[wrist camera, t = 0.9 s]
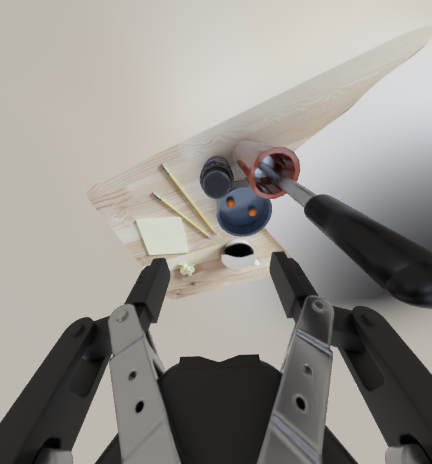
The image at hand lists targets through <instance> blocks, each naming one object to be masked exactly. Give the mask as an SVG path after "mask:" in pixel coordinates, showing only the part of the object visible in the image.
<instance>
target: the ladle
mask: <svg viewBox="0 0 432 464" xmlns="http://www.w3.org/2000/svg"><path fill="white" fill-rule="evenodd" d="M254 177H256V178H260V179H261V178H265V177H268V178H270V179H271V180H272V181H273V182H274V183H276V184H277V185H278V186H279V187H280V188H281V189H283V190H284V191H285V192H286V193H287V194H288V195H290V196H291V197H292V198H293V199H294V200H296V201H297V202H298V203H299V204H300V205H302V206H303V207H304V212H305V215H306V217H307V218H308V219H309V220H310V221H311V222H312V223H313V224H314V225H316V226H317V227H318V228H319V229H320V230H321V231H322V232H323V233H324V234H325V235H326V236H327V237H328V238H329V239H331V240H332V241H333V242H334V243H335V244H336V245H337V246H338V247H339V248H340V249H341V250H342V251H344V253H346V254H347V255H348V256H349V257H350V258H351V259H352V260H353V261H354V262H355V263H356V264H357V265H359V266H360V267H361V268H362V269H363V270H364V271H365V272H366V273H367V274H368V275H369V276H370V277H371V278H373V280H375V281H376V282H377V283H378V284H379V285H380V286H381V287H382V288H383V289H384V290H385V291H386V292H388V293H389V294H390V295H391V296H393V297H394V298H396V299H398V300H399V301H402V302H404V303H407V304H409V305H412V306H416V307H421V308H429V309H432V252H431V251H429V250H427V249H426V248H424V247H422V246H420V245H418V244H416V243H415V242H413V241H411V240H409V239H407V238H406V237H404V236H402V235H400V234H398V233H397V232H395V231H393V230H391V229H389V228H387V227H386V226H384V225H382V224H380V223H378V222H377V221H375V220H373V219H371V218H369V217H368V216H366V215H364V214H362V213H360V212H358V211H357V210H355V209H353V208H351V207H349V206H348V205H346V204H344V203H342V202H340V201H339V200H337V199H335V198H333V197H331V196H329V195H324V194H322V195H316V194H314V193H313V192H311V191H310V190H308V189H306V188H305V187H303V186H301V185H300V184H298V183H297V182H295V181H293V180H292V179H290V178H289V177H287V176H285V175H284V174H282V173H280V172H279V171H277V170H276V169H274V160H273V158H272V157H271V156H270V155H269V156H267V157H265V158H264V159H263V160H262V161H261V162H260V163H259V165H258V167H257V169H256V170H255V176H254Z"/></svg>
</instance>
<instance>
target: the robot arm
mask: <svg viewBox="0 0 432 464" xmlns="http://www.w3.org/2000/svg"><path fill="white" fill-rule="evenodd" d="M270 274H271V277H272V280H273V282H274V284H275V287H276V290H277V293H278V295H279V298H280V300H281V303H282V305H283V308H284V311H285V313H286V316H287V318H294V321H295V326H294V329H293V332H292V335H291V338H290V341H289V345H288V348H287V351H286V354H285V357H284V359H283V362H282V365H281V368H280V372H279V371H278V370H277V369H276V368H274V367H273V366H271V365H270V364H268V363H266V362H263V361H261V360H260V359H259V355H258V354H257V355H238V356H235V357H233V358H230V359H227V360H225V361H222V362H216V361H213V360H209V359H206V358H203V357H199V356H198V357H180V362H179V363H178V364H176V365H174V366H172V367H171V368H169V369H168V370H167V371H165V369H164V366H163V364H162V362H161V360H160V358H159V356H158V353H157V350H156V348H155V345H154V342H153V340H152V337H151V334H150V331H149V326H150V323H157V320H158V317H159V313H160V310H161V307H162V303H163V301H164V297H165V294H166V291H167V287H168V284H169V281H170V271H169V268H168V265H167V262H166V259H165V258H155V259H153V261H152V263H151V265H150V266H146V267H145V268H144V270H142V272H141V273H140V275H139V277H138V279H137V281H136V284H135V285H134V287H133V289H132V291H131V292H130V294H129V296H128V298H127V300H126V302H125V304H124V305H122V306H120V307H118V308H117V309H115V310H114V311H113V312H112V314H111V315H110V316H108V317H105V318H102V319H99V320H97V321H93V320H92V319H91V318H89V317H85V318H81V319H79V320H77V321H75V322H74V323H72V324H71V325H70V326H69V327H68V328H67V329H66V330H65V331H64V333H63V334H62V336H61V337H60V339H59V340H58V341H57V343H56V344H55V346H54V347H53V349H52V350H51V351H50V353H49V354H48V356H47V357H46V358H45V360H44V361H43V363H42V364H41V366H40V367H39V368H38V370H37V371H36V373H35V374H34V376H33V377H32V378H31V380H30V381H29V383H28V384H27V386H26V387H25V388H24V390H23V391H22V393H21V394H20V396H19V397H18V398H17V400H16V401H15V403H14V404H13V406H12V407H11V408H10V410H9V411H8V413H7V414H6V416H5V417H4V418H3V420H2V421H1V423H0V464H73V456H72V453H71V450H72V448H73V446H74V443H75V441H76V438H77V436H78V433H79V431H80V429H81V426H82V424H83V422H84V419H85V417H86V414H87V412H88V410H89V407H90V404H91V402H92V400H93V397H94V395H95V393H96V390H97V388H98V386H99V383H100V381H101V378H102V376H103V374H104V371H105V369H106V366H107V364H108V362H109V359H110V357H111V354H113V357H112V358H111V359H110V362H109V365H110V373H111V381H112V388H113V396H114V403H115V411H116V418H117V426H118V433H117V435H116V436H115V437H114V439H113V440H112V441H111V443H110V444H109V445H108V447H107V448H106V449H105V451H104V452H103V453H102V455H101V456H100V457H99V459H98V460H97V461H96V463H95V464H358V463H357V462H356V461H355V459H354V458H353V457H352V456H351V455H350V453H349V452H348V451H347V450H346V449H345V448H344V446H343V445H342V444H341V443H340V442H339V440H338V439H337V438H336V437H335V436H334V434H333V433H332V432H331V431H330V430H329V429H328V427H327V426H326V425H325V420H326V412H327V404H328V395H329V386H330V376H331V368H332V360H333V352H332V351H331V350H330V345H332V346H335V347H338V349H339V351H340V353H341V355H342V357H343V359H344V361H345V363H346V365H347V367H348V368H349V370H350V372H351V374H352V376H353V378H354V380H355V382H356V384H357V386H358V388H359V390H360V392H361V394H362V396H363V398H364V400H365V402H366V404H367V406H368V408H369V410H370V412H371V413H372V415H373V417H374V419H375V421H376V423H377V425H378V427H379V429H380V431H381V433H382V435H383V437H384V439H385V441H386V443H387V445H388V447H389V448H388V449H387V451H386V454H385V461H386V464H432V374H431V373H430V372H429V371H428V370H427V368H426V367H425V366H424V365H423V364H422V362H421V361H420V360H419V359H418V358H417V356H416V355H415V354H414V353H413V352H412V350H411V349H410V348H409V347H408V346H407V345H406V343H405V342H404V341H403V340H402V339H401V338H400V336H399V335H398V334H397V333H396V331H395V330H394V329H393V328H392V327H391V326H390V324H389V323H388V322H387V321H386V320H385V318H384V317H383V316H381V315H380V314H379V313H377V312H376V311H374V310H373V309H370V308H368V307H364V306H356V307H354V308H353V310H352V311H351V310H347V309H342V308H339V307H335V306H332V305H331V304H330V303H329V302H328V301H327V300H325V299H324V298H322V297H319V296H318V294H317V293H316V291H315V290H314V288H313V286H312V285H311V283H310V281H309V280H308V278H307V277H306V275H305V273H304V272H303V271H302V269H301V267H300V266H299V264H298V263H297V262H296V261H295V260H294V259H292V258H287V256H286V254H285V253H284V252H283V251H282V252H272V256H271V262H270Z"/></svg>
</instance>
